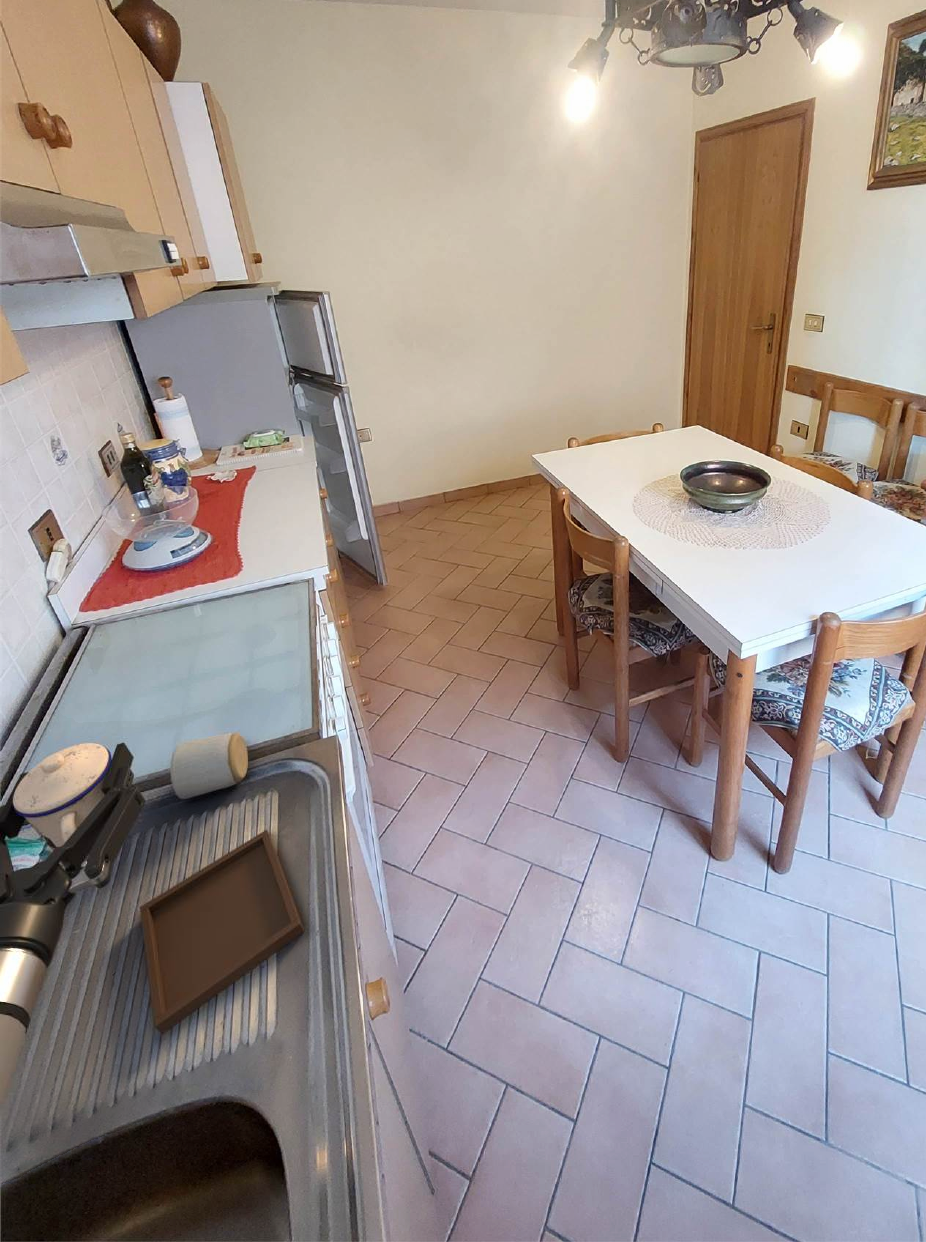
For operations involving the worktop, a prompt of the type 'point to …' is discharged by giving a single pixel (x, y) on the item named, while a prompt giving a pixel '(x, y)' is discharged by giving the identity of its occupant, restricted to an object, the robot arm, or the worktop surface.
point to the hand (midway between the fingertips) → (78, 765)
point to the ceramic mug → (208, 764)
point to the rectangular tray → (216, 928)
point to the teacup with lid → (63, 791)
